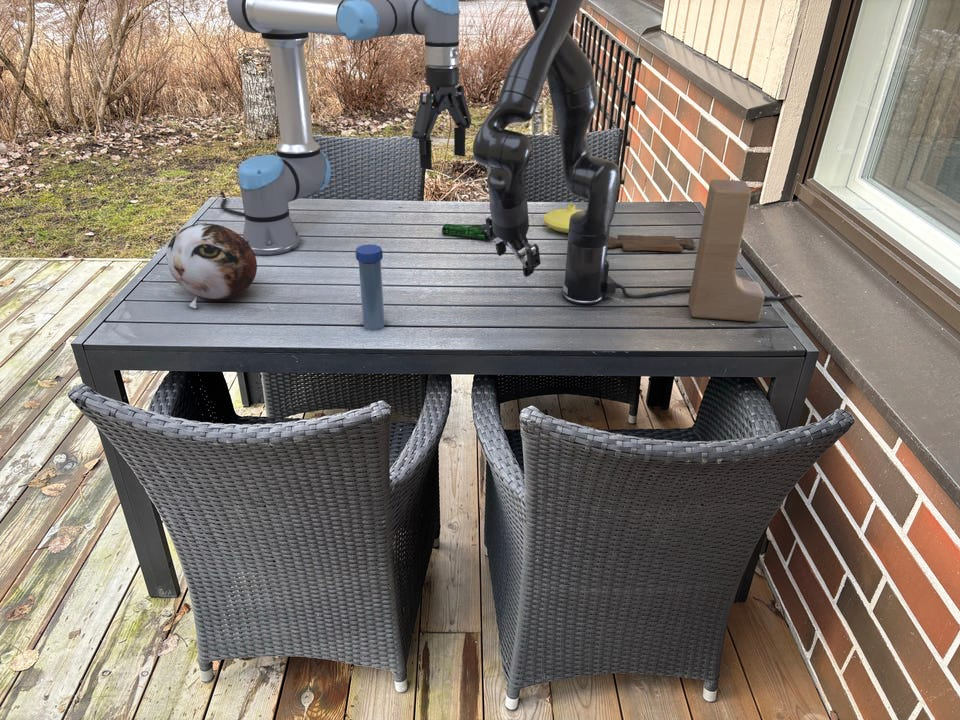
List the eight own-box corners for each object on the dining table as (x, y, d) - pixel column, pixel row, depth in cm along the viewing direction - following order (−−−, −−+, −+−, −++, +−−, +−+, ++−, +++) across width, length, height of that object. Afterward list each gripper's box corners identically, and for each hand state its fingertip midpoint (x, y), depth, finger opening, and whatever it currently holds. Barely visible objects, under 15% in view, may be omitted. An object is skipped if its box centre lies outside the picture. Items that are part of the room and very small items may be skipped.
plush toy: (130, 285, 161) (164, 203, 163) (192, 308, 177) (221, 233, 178) (195, 307, 151) (229, 220, 152) (254, 330, 166) (285, 250, 168)
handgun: (511, 219, 210) (493, 234, 198) (511, 228, 211) (492, 244, 199) (461, 212, 215) (440, 226, 203) (461, 221, 217) (440, 236, 204)
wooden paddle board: (698, 254, 196) (690, 241, 205) (699, 248, 195) (691, 235, 204) (604, 251, 196) (600, 238, 205) (605, 245, 195) (601, 232, 204)
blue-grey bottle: (360, 322, 159) (354, 248, 150) (381, 318, 160) (376, 245, 151) (366, 331, 155) (361, 256, 146) (387, 327, 157) (383, 253, 148)
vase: (559, 216, 220) (561, 193, 217) (605, 227, 212) (608, 204, 209) (532, 230, 209) (533, 207, 206) (580, 242, 201) (582, 218, 198)
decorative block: (759, 323, 161) (790, 192, 145) (691, 318, 162) (715, 188, 147) (752, 308, 167) (782, 182, 152) (687, 303, 169) (710, 178, 153)
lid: (353, 255, 151) (352, 246, 150) (378, 251, 153) (377, 242, 152) (360, 265, 146) (359, 255, 145) (386, 261, 148) (385, 251, 147)
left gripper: (421, 75, 148) (424, 176, 159) (486, 61, 166) (485, 153, 177) (393, 71, 151) (397, 171, 162) (460, 58, 169) (460, 148, 180)
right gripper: (547, 220, 141) (549, 271, 155) (499, 184, 147) (505, 237, 161) (520, 241, 139) (524, 291, 153) (472, 204, 145) (480, 256, 159)
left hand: (443, 161), depth 169 cm, fingers open, 13 cm apart
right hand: (514, 263), depth 157 cm, fingers open, 8 cm apart
